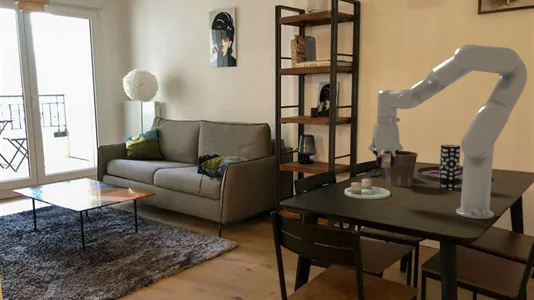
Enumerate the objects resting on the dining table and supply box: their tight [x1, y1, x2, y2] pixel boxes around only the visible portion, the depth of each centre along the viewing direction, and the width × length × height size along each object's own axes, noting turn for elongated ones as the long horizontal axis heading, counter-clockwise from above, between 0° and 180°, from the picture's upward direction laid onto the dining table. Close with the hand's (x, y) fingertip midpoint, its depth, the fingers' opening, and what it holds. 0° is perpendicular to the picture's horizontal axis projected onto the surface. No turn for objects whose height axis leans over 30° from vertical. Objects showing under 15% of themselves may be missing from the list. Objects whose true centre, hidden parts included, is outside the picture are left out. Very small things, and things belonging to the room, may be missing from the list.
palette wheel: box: [416, 166, 463, 184], centre depth 230 cm, size 35×35×3 cm
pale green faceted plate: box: [344, 186, 391, 200], centre depth 189 cm, size 19×19×2 cm
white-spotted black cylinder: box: [438, 144, 461, 191], centre depth 201 cm, size 8×8×20 cm
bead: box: [361, 178, 373, 190], centre depth 194 cm, size 4×4×5 cm
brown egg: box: [380, 153, 391, 168], centre depth 175 cm, size 4×4×5 cm
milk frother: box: [368, 150, 390, 180], centre depth 227 cm, size 14×16×15 cm
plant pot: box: [382, 150, 419, 188], centre depth 208 cm, size 16×16×16 cm
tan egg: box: [350, 181, 362, 195], centre depth 187 cm, size 4×4×5 cm
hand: (385, 165), depth 175 cm, fingers closed on brown egg, 4 cm apart
